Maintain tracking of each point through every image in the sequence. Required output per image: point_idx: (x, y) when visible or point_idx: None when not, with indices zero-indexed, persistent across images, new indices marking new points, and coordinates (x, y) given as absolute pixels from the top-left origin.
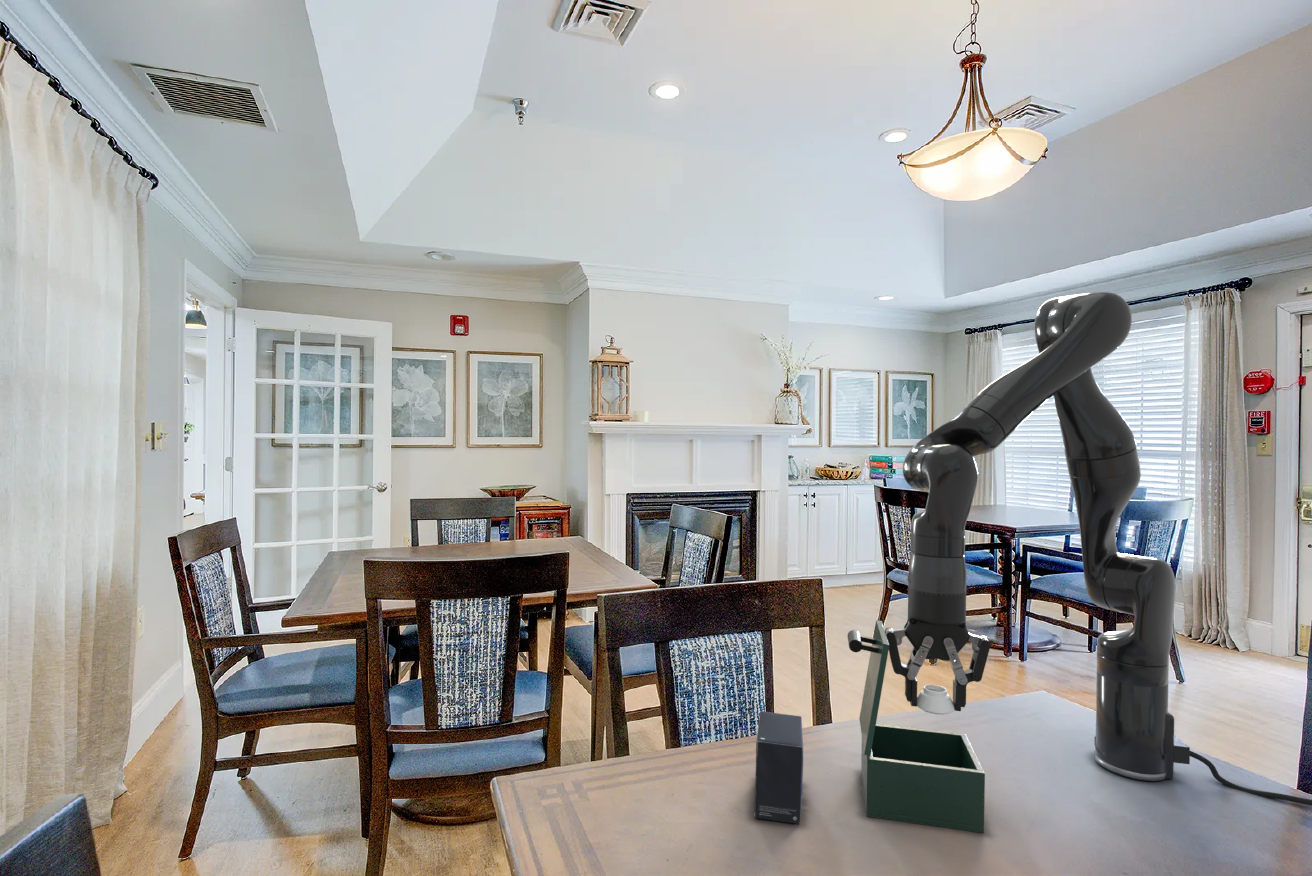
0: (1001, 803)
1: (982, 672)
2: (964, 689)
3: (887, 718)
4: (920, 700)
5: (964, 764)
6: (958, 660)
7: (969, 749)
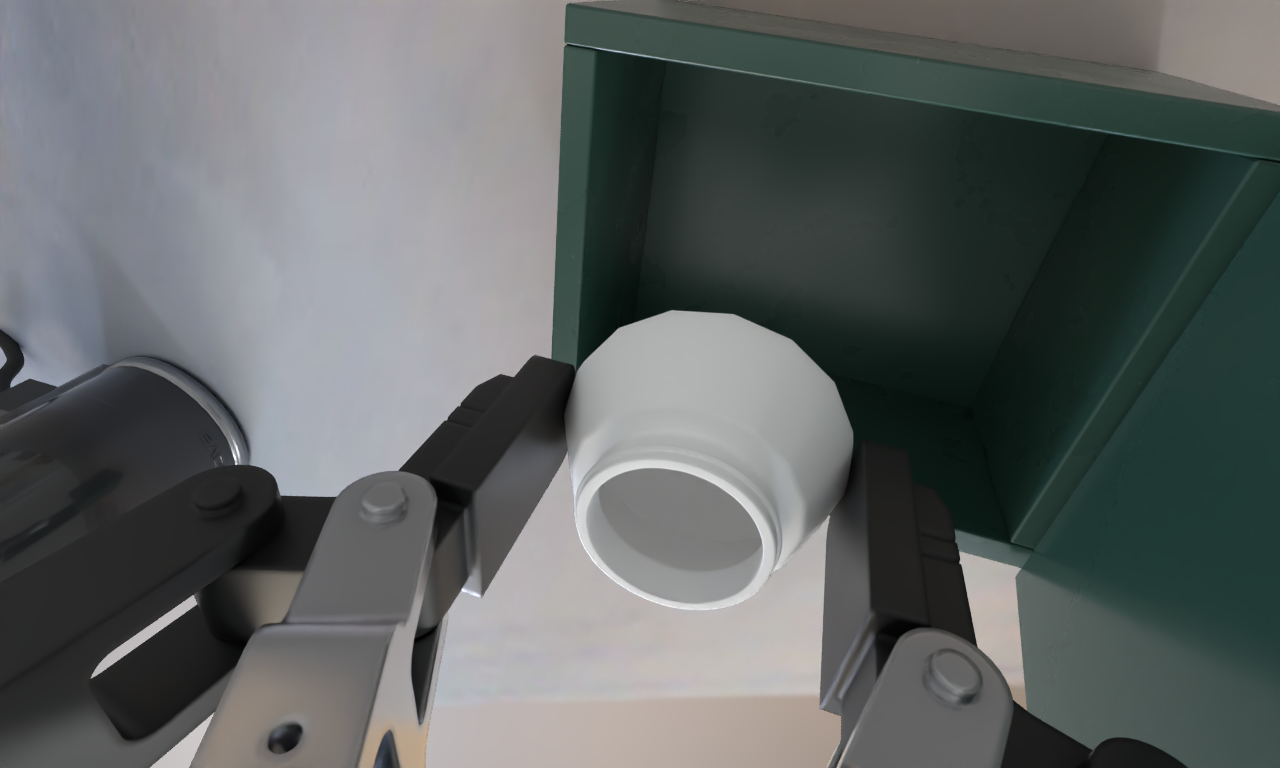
0: (530, 231)
1: (111, 527)
2: (425, 461)
3: (722, 688)
4: (831, 463)
5: (608, 304)
6: (236, 731)
7: (570, 291)
